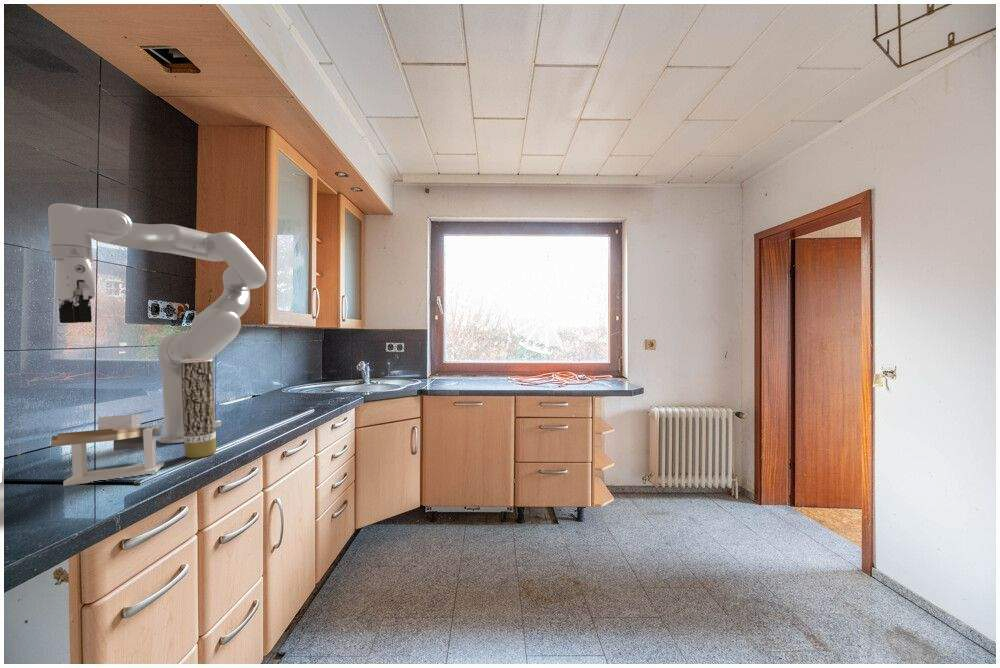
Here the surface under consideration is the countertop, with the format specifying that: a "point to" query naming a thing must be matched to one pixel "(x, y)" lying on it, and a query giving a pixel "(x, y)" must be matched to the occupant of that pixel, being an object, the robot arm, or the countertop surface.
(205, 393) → the bark textured cylinder
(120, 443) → the balance beam
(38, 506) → the countertop surface
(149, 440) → the pivot stand
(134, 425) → the steel block
